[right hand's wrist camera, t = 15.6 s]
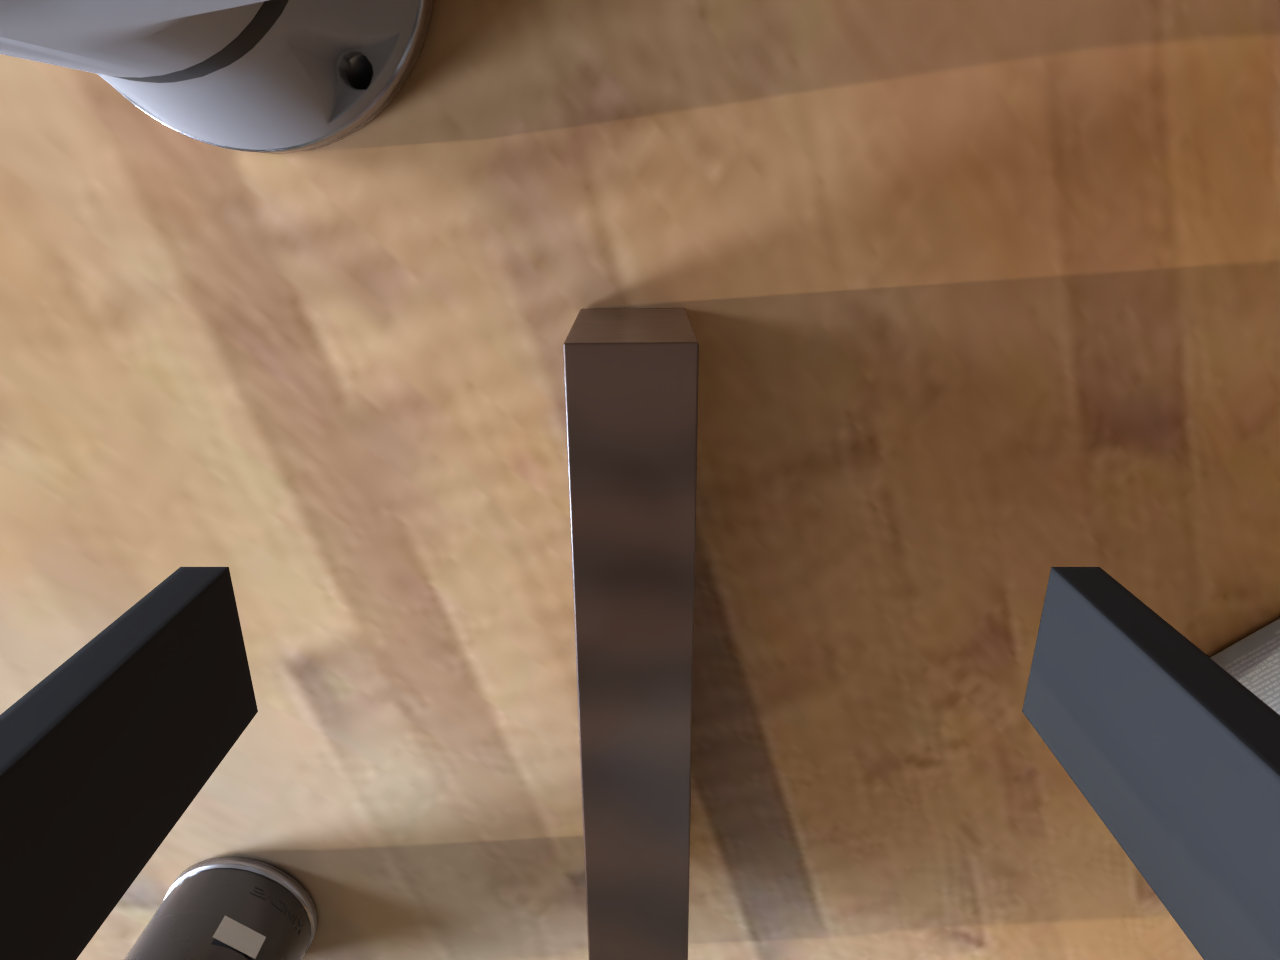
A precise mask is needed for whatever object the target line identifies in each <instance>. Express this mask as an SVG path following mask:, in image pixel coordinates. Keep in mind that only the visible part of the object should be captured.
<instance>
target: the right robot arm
mask: <svg viewBox="0 0 1280 960" xmlns="http://www.w3.org/2000/svg"><path fill="white" fill-rule="evenodd" d="M432 7H433V0H0V54H3V55H8V56H13V57H18V58H23V59H28V60H33V61H37V62H42V63H47V64H52V65H57V66H62V67H67V68H72V69H77V70H82V71H86V72H91V73H96V74H98V75H99V76H100V77H102V78H103V79H104V80H106V81H107V82H108V83H110V84H111V85H112V86H113V87H114V88H115V89H116V90H117V91H119V92H120V93H121V94H122V95H123V96H124V97H126V98H127V99H128V100H129V101H130V102H132V103H133V104H134V105H136V106H137V107H138V108H140V109H141V110H143V111H144V112H145V113H147V114H148V115H150V116H151V117H152V118H154V119H156V120H157V121H159V122H161V123H163V124H164V125H166V126H168V127H169V128H171V129H173V130H175V131H178V132H180V133H182V134H184V135H186V136H188V137H191V138H193V139H196V140H199V141H202V142H204V143H207V144H211V145H215V146H219V147H223V148H228V149H234V150H241V151H250V152H260V153H295V152H301V151H307V150H312V149H316V148H319V147H323V146H326V145H329V144H331V143H334V142H336V141H339V140H341V139H343V138H345V137H347V136H349V135H351V134H352V133H354V132H356V131H358V130H359V129H360V128H362V127H363V126H365V125H366V124H367V123H369V122H370V121H371V120H372V119H374V118H375V117H376V116H377V115H378V114H379V113H380V112H381V111H383V110H384V108H385V107H386V106H387V105H388V104H389V103H390V102H391V101H392V99H393V98H394V97H395V96H396V94H397V93H398V92H399V90H400V89H401V87H402V86H403V85H404V83H405V82H406V80H407V78H408V76H409V75H410V73H411V71H412V69H413V68H414V65H415V63H416V61H417V59H418V56H419V54H420V52H421V49H422V46H423V43H424V40H425V37H426V34H427V31H428V27H429V22H430V18H431V14H432ZM257 712H258V710H257V705H256V700H255V695H254V690H253V685H252V681H251V676H250V671H249V666H248V661H247V656H246V651H245V646H244V641H243V636H242V631H241V626H240V621H239V616H238V611H237V606H236V601H235V596H234V591H233V586H232V581H231V577H230V572H229V567H180V568H179V569H178V570H176V571H175V572H174V573H173V574H172V575H170V576H169V577H168V578H167V579H165V580H164V581H163V582H162V583H161V584H159V585H158V586H157V587H156V588H154V589H153V590H152V591H151V592H150V593H148V594H147V595H146V596H145V597H144V598H142V599H141V600H140V601H139V602H137V603H136V604H135V605H134V606H133V607H131V608H130V609H129V610H128V611H126V612H125V613H124V614H123V615H122V616H120V617H119V618H118V619H117V620H116V621H114V622H113V623H112V624H111V625H109V626H108V627H107V628H106V629H105V630H103V631H102V632H101V633H100V634H98V635H97V636H96V637H95V638H94V639H92V640H91V641H90V642H89V643H88V644H86V645H85V646H84V647H83V648H81V649H80V650H79V651H78V652H77V653H75V654H74V655H73V656H72V657H70V658H69V659H68V660H67V661H66V662H64V663H63V664H62V665H61V666H60V667H58V668H57V669H56V670H55V671H53V672H52V673H51V674H50V675H49V676H47V677H46V678H45V679H44V680H42V681H41V682H40V683H39V684H38V685H36V686H35V687H34V688H33V689H32V690H30V691H29V692H28V693H27V694H25V695H24V696H23V697H22V698H21V699H19V700H18V701H17V702H16V703H14V704H13V705H12V706H11V707H10V708H8V709H7V710H6V711H5V712H4V713H2V714H1V715H0V960H76V959H77V958H78V956H79V955H80V954H81V952H82V951H83V949H84V948H85V947H86V945H87V944H88V943H89V941H90V940H91V939H92V937H93V936H94V934H95V933H96V932H97V930H98V929H99V928H100V926H101V925H102V923H103V922H104V921H105V919H106V918H107V917H108V915H109V914H110V913H111V911H112V910H113V908H114V907H115V906H116V904H117V903H118V902H119V900H120V899H121V898H122V896H123V895H124V893H125V892H126V891H127V889H128V888H129V887H130V885H131V884H132V883H133V881H134V880H135V878H136V877H137V876H138V874H139V873H140V872H141V870H142V869H143V868H144V866H145V865H146V863H147V862H148V861H149V859H150V858H151V857H152V855H153V854H154V852H155V851H156V850H157V848H158V847H159V846H160V844H161V843H162V842H163V840H164V839H165V837H166V836H167V835H168V833H169V832H170V831H171V829H172V828H173V827H174V825H175V824H176V822H177V821H178V820H179V818H180V817H181V816H182V814H183V813H184V812H185V810H186V809H187V807H188V806H189V805H190V803H191V802H192V801H193V799H194V798H195V797H196V795H197V794H198V792H199V791H200V790H201V788H202V787H203V786H204V784H205V783H206V781H207V780H208V779H209V777H210V776H211V775H212V773H213V772H214V771H215V769H216V768H217V766H218V765H219V764H220V762H221V761H222V760H223V758H224V757H225V756H226V754H227V753H228V751H229V750H230V749H231V747H232V746H233V745H234V743H235V742H236V741H237V739H238V738H239V736H240V735H241V734H242V732H243V731H244V730H245V728H246V727H247V726H248V724H249V723H250V721H251V720H252V719H253V717H254V716H255V715H256V713H257ZM1022 712H1023V713H1024V715H1025V716H1026V717H1027V719H1028V720H1029V721H1030V723H1031V724H1032V726H1033V727H1034V728H1035V730H1036V731H1037V732H1038V734H1039V735H1040V736H1041V738H1042V739H1043V741H1044V742H1045V743H1046V745H1047V746H1048V747H1049V749H1050V750H1051V751H1052V753H1053V754H1054V756H1055V757H1056V758H1057V760H1058V761H1059V762H1060V764H1061V765H1062V766H1063V768H1064V769H1065V771H1066V772H1067V773H1068V775H1069V776H1070V777H1071V779H1072V780H1073V781H1074V783H1075V784H1076V786H1077V787H1078V788H1079V790H1080V791H1081V792H1082V794H1083V795H1084V797H1085V798H1086V799H1087V801H1088V802H1089V803H1090V805H1091V806H1092V807H1093V809H1094V810H1095V812H1096V813H1097V814H1098V816H1099V817H1100V818H1101V820H1102V821H1103V822H1104V824H1105V825H1106V827H1107V828H1108V829H1109V831H1110V832H1111V833H1112V835H1113V836H1114V837H1115V839H1116V840H1117V842H1118V843H1119V844H1120V846H1121V847H1122V848H1123V850H1124V851H1125V852H1126V854H1127V855H1128V857H1129V858H1130V859H1131V861H1132V862H1133V863H1134V865H1135V866H1136V868H1137V869H1138V870H1139V872H1140V873H1141V874H1142V876H1143V877H1144V878H1145V880H1146V881H1147V883H1148V884H1149V885H1150V887H1151V888H1152V889H1153V891H1154V892H1155V893H1156V895H1157V896H1158V898H1159V899H1160V900H1161V902H1162V903H1163V904H1164V906H1165V907H1166V908H1167V910H1168V911H1169V913H1170V914H1171V915H1172V917H1173V918H1174V919H1175V921H1176V922H1177V923H1178V925H1179V926H1180V928H1181V929H1182V930H1183V932H1184V933H1185V934H1186V936H1187V937H1188V939H1189V940H1190V941H1191V943H1192V944H1193V945H1194V947H1195V948H1196V949H1197V951H1198V952H1199V954H1200V955H1201V956H1202V958H1203V959H1204V960H1280V715H1279V714H1278V713H1276V712H1275V711H1274V710H1273V709H1272V708H1270V707H1269V706H1268V705H1267V704H1266V703H1264V702H1263V701H1262V700H1261V699H1259V698H1258V697H1257V696H1256V695H1255V694H1253V693H1252V692H1251V691H1250V690H1248V689H1247V688H1246V687H1245V686H1244V685H1242V684H1241V683H1240V682H1239V681H1238V680H1236V679H1235V678H1234V677H1233V676H1231V675H1230V674H1229V673H1228V672H1227V671H1225V670H1224V669H1223V668H1222V667H1220V666H1219V665H1218V664H1217V663H1216V662H1214V661H1213V660H1212V659H1211V658H1210V657H1208V656H1207V655H1206V654H1205V653H1203V652H1202V651H1201V650H1200V649H1199V648H1197V647H1196V646H1195V645H1194V644H1192V643H1191V642H1190V641H1189V640H1188V639H1186V638H1185V637H1184V636H1183V635H1182V634H1180V633H1179V632H1178V631H1177V630H1175V629H1174V628H1173V627H1172V626H1171V625H1169V624H1168V623H1167V622H1166V621H1164V620H1163V619H1162V618H1161V617H1160V616H1158V615H1157V614H1156V613H1155V612H1154V611H1152V610H1151V609H1150V608H1149V607H1147V606H1146V605H1145V604H1144V603H1143V602H1141V601H1140V600H1139V599H1138V598H1136V597H1135V596H1134V595H1133V594H1132V593H1130V592H1129V591H1128V590H1127V589H1126V588H1124V587H1123V586H1122V585H1121V584H1119V583H1118V582H1117V581H1116V580H1115V579H1113V578H1112V577H1111V576H1110V575H1108V574H1107V573H1106V572H1105V571H1104V570H1102V569H1101V568H1100V567H1051V572H1050V577H1049V581H1048V586H1047V591H1046V596H1045V601H1044V606H1043V611H1042V616H1041V621H1040V626H1039V631H1038V636H1037V641H1036V646H1035V651H1034V656H1033V661H1032V666H1031V671H1030V676H1029V681H1028V685H1027V690H1026V695H1025V700H1024V705H1023V710H1022Z"/></svg>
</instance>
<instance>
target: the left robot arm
mask: <svg viewBox="0 0 1280 960" xmlns="http://www.w3.org/2000/svg"><path fill="white" fill-rule="evenodd" d="M316 929H317V913H316V909H315V906H314V904H313V901H312V900H311V898H310V896H309V895H308V893H307V892H306V891H305V889H304V888H303V887H302V886H301V885H300V884H299V883H298V882H297V881H296V880H294V879H293V878H292V877H291V876H289V875H288V874H286V873H285V872H283V871H281V870H279V869H278V868H275V867H273V866H271V865H269V864H266V863H263V862H260V861H256V860H252V859H247V858H239V857H221V858H214V859H209V860H205V861H202V862H199V863H197V864H195V865H193V866H191V867H189V868H188V869H186V870H185V871H184V872H183V873H182V874H180V875H179V877H178V878H177V879H176V880H175V882H174V883H173V885H172V886H171V888H170V889H169V891H168V892H167V894H166V896H165V898H164V901H163V902H162V904H161V905H160V907H159V908H158V910H157V911H156V913H155V914H154V916H153V917H152V919H151V920H150V922H149V923H148V925H147V926H146V928H145V929H144V931H143V932H142V934H141V935H140V936H139V938H138V939H137V941H136V942H135V944H134V945H133V947H132V948H131V950H130V951H129V953H128V954H127V956H126V957H125V959H124V960H302V959H303V957H304V955H305V954H306V953H307V951H308V949H309V947H310V945H311V943H312V941H313V938H314V936H315V933H316Z"/></svg>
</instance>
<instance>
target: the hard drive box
mask: <svg viewBox="0 0 1280 960" xmlns="http://www.w3.org/2000/svg"><path fill="white" fill-rule="evenodd" d="M1211 659H1212V660H1213V661H1214V662H1216V663H1217V664H1218V665H1219V666H1220V667H1222V668H1223V669H1224V670H1225V671H1227V672H1228V673H1229V674H1230V675H1231V676H1233V677H1234V678H1235V679H1236V680H1238V681H1239V682H1240V683H1241V684H1242V685H1244V686H1245V687H1246V688H1247V689H1248V690H1250V691H1251V692H1252V693H1253V694H1255V695H1256V696H1257V697H1258V698H1259V699H1261V700H1262V701H1263V702H1264V703H1266V704H1267V705H1268V706H1269V707H1270V708H1272V709H1273V710H1274V711H1275V712H1276V713H1278V714H1279V715H1280V619H1278V620H1276V621H1274V622H1272V623H1271V624H1269V625H1267V626H1265V627H1263V628H1262V629H1260V630H1258V631H1256V632H1255V633H1253V634H1251V635H1249V636H1247V637H1246V638H1244V639H1242V640H1240V641H1239V642H1237V643H1235V644H1233V645H1231V646H1230V647H1228V648H1226V649H1225V650H1223V651H1221V652H1219V653H1218V654H1216V655H1214V656H1212V657H1211Z"/></svg>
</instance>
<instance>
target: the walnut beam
mask: <svg viewBox="0 0 1280 960" xmlns="http://www.w3.org/2000/svg"><path fill="white" fill-rule="evenodd" d="M563 353H564V377H565V400H566V424H567V448H568V472H569V496H570V520H571V544H572V568H573V591H574V615H575V639H576V663H577V687H578V711H579V735H580V758H581V782H582V806H583V830H584V854H585V878H586V902H587V925H588V949H589V960H688V915H689V860H690V805H691V749H692V694H693V639H694V584H695V528H696V473H697V418H698V363H699V343H698V341H697V338H696V336H695V333H694V330H693V328H692V325H691V323H690V320H689V317H688V315H687V312H686V310H685V308H626V309H581V310H580V312H579V314H578V316H577V318H576V320H575V322H574V324H573V326H572V328H571V330H570V332H569V334H568V336H567V338H566V340H565V342H564V345H563Z"/></svg>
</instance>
